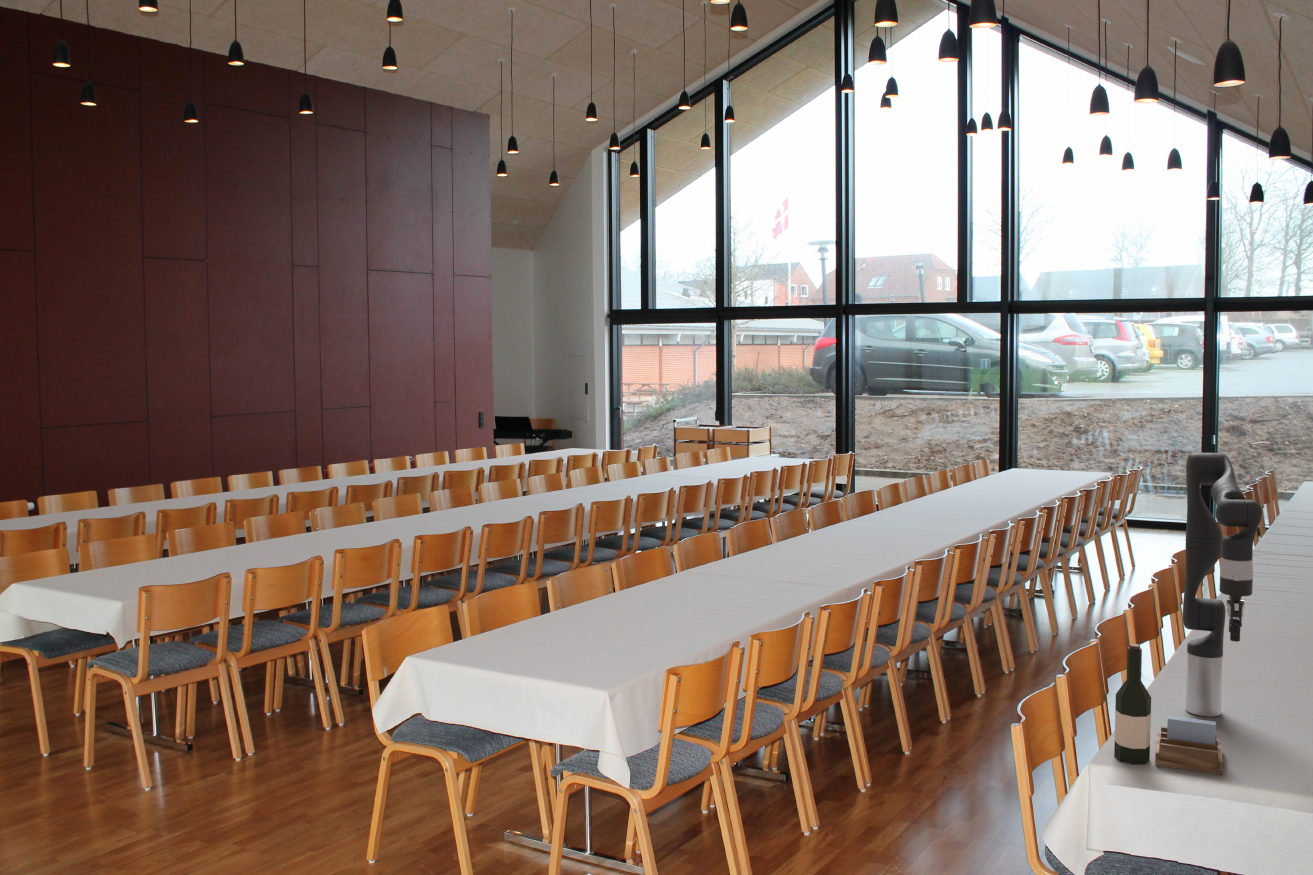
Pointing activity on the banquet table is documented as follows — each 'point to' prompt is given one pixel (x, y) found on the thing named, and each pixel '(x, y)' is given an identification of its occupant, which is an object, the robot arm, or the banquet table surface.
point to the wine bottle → (1133, 714)
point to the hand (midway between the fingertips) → (1234, 636)
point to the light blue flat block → (1191, 730)
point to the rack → (1188, 754)
